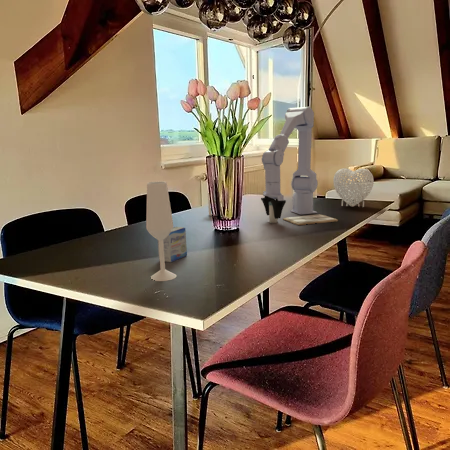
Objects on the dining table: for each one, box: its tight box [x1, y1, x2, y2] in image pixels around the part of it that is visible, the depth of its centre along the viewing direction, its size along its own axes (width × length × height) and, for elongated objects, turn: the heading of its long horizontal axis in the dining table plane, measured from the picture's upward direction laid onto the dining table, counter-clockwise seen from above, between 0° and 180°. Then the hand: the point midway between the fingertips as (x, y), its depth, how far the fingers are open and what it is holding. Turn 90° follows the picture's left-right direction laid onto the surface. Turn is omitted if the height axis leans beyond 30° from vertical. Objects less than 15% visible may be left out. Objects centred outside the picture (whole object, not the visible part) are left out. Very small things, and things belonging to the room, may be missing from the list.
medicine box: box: [157, 226, 188, 263], centre depth 131 cm, size 8×4×9 cm, turn 148°
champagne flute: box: [145, 181, 177, 282], centre depth 112 cm, size 7×7×24 cm
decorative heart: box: [333, 167, 374, 208], centre depth 203 cm, size 18×11×17 cm, turn 54°
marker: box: [268, 202, 279, 224], centre depth 176 cm, size 3×3×8 cm
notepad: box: [282, 213, 339, 226], centre depth 177 cm, size 13×17×1 cm
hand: (273, 216), depth 176 cm, fingers open, 7 cm apart
